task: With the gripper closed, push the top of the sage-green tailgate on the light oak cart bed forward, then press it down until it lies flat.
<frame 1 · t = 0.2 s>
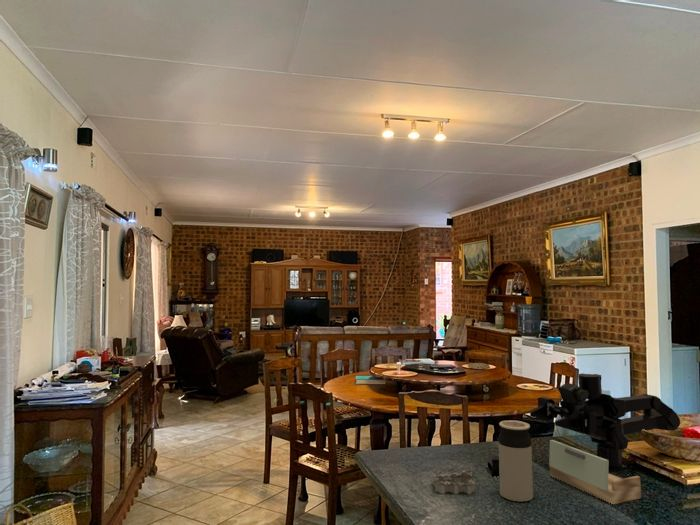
hand: (542, 418, 135), 16 cm above the counter, tool horizontal, fingers open, 9 cm apart
tailgate: (576, 463, 127), point 7 cm above the counter, hinge at -4.0°
build plate: (494, 473, 140), on the counter
travel mug: (516, 496, 123), on the counter
cart bed: (592, 486, 129), on the counter
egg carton: (453, 490, 128), on the counter
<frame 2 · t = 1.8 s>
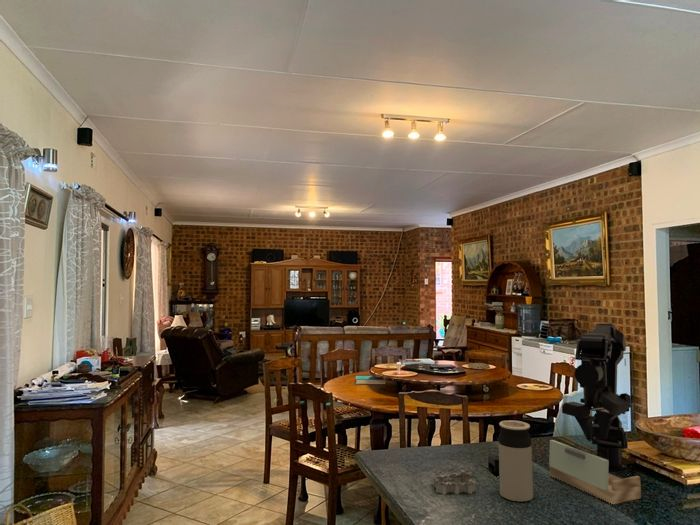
hand: (596, 439, 131), 12 cm above the counter, tool pointing down, fingers open, 5 cm apart
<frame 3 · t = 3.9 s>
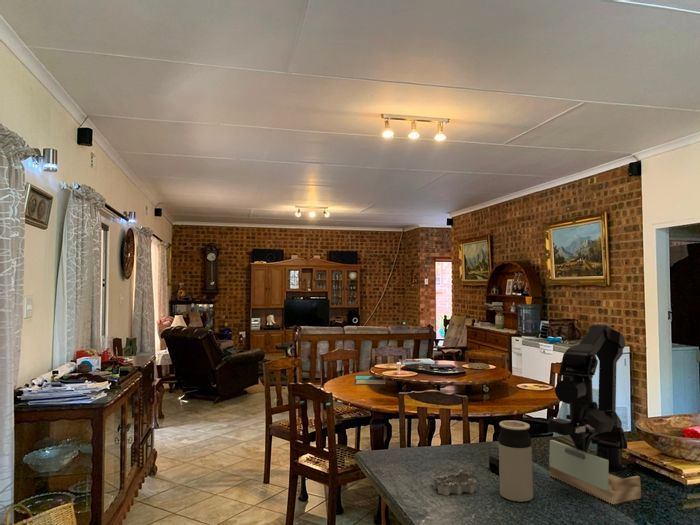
hand: (582, 456, 128), 8 cm above the counter, tool pointing down, fingers closed
tailgate: (576, 463, 127), point 7 cm above the counter, hinge at -4.0°, touching gripper
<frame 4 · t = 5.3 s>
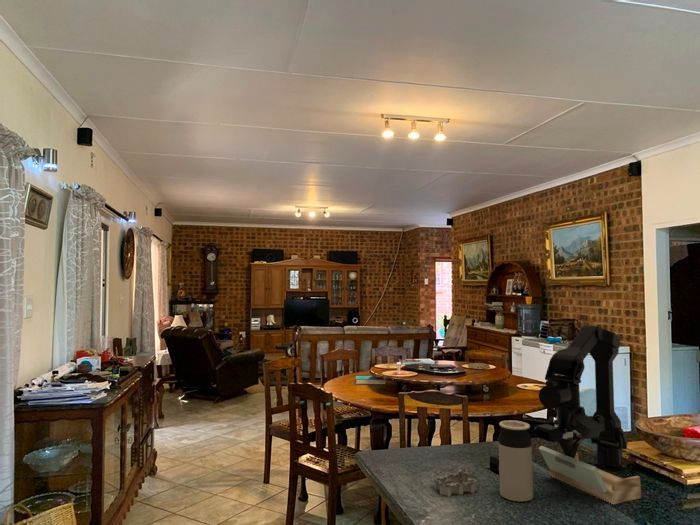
hand: (570, 462, 127), 7 cm above the counter, tool pointing down, fingers closed, pressing on tailgate
tailgate: (570, 468, 127), point 6 cm above the counter, hinge at 31.7°, touching gripper
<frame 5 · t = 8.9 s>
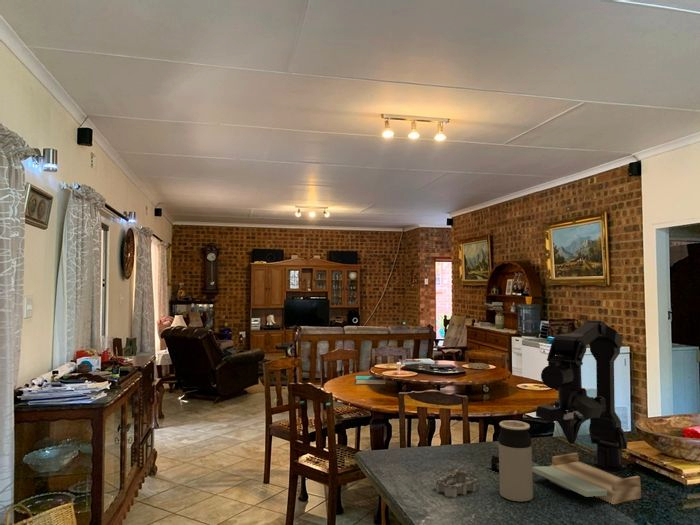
hand: (571, 443, 127), 12 cm above the counter, tool pointing down, fingers closed
tailgate: (567, 481, 126), point 3 cm above the counter, hinge at 83.2°
at the end: tailgate at +83° (first picture: -4°); build plate moved 2.5 cm from its start; travel mug moved 0.2 cm from its start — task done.
